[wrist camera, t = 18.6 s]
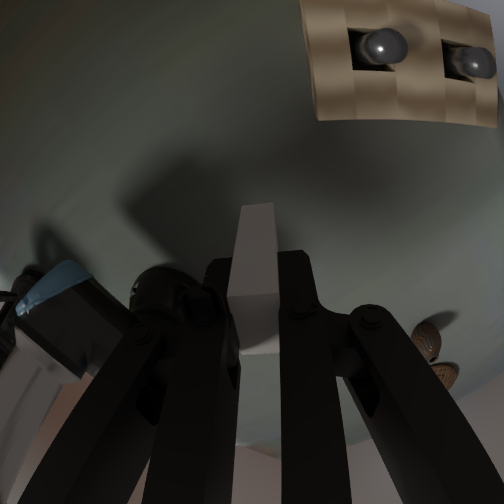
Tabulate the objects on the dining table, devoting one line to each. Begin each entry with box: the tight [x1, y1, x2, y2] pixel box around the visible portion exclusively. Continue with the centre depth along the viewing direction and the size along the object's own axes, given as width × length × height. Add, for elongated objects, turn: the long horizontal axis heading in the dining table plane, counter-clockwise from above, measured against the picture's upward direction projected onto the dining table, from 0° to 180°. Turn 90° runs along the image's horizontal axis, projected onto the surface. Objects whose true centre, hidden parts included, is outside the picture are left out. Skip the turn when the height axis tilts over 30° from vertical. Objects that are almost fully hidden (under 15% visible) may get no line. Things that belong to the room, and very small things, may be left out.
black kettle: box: [0, 270, 44, 370], centre depth 47 cm, size 16×19×25 cm
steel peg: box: [442, 47, 496, 79], centre depth 24 cm, size 4×4×10 cm
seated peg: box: [350, 28, 408, 66], centre depth 25 cm, size 4×4×10 cm
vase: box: [411, 323, 442, 363], centre depth 52 cm, size 7×7×9 cm
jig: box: [298, 0, 498, 129], centre depth 27 cm, size 18×28×4 cm, turn 98°
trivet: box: [430, 363, 457, 391], centre depth 70 cm, size 25×25×2 cm
